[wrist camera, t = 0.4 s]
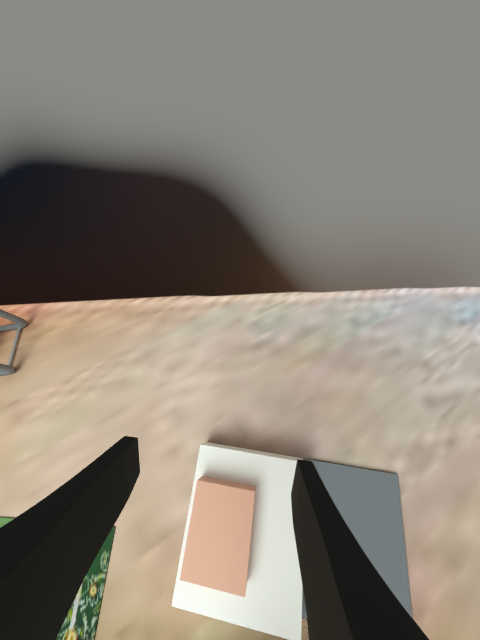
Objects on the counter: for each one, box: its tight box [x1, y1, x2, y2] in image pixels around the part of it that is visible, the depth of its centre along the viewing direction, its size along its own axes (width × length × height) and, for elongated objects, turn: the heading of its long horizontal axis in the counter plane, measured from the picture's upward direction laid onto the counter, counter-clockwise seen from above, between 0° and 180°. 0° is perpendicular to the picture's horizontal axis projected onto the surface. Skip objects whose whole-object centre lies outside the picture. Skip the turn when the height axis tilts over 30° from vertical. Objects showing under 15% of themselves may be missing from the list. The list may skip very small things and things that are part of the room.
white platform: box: [172, 442, 303, 640], centre depth 30 cm, size 16×14×4 cm
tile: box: [180, 476, 256, 597], centre depth 27 cm, size 9×7×2 cm
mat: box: [302, 459, 412, 619], centre depth 29 cm, size 16×12×1 cm
